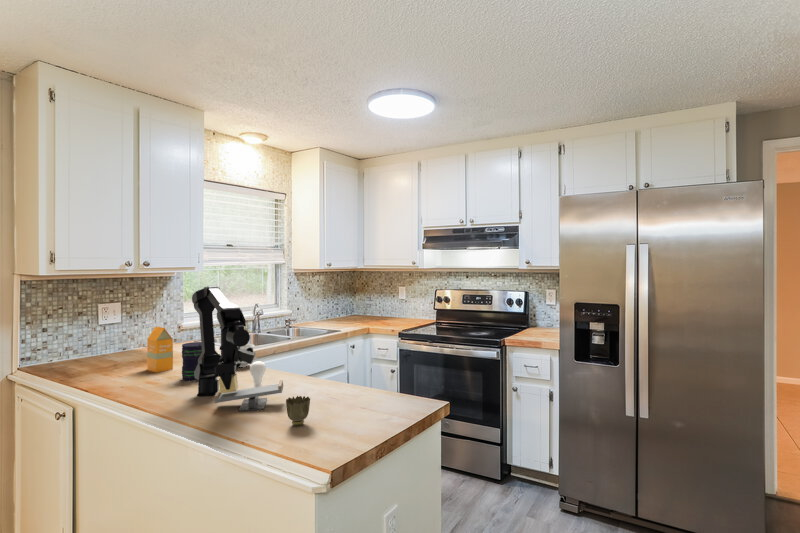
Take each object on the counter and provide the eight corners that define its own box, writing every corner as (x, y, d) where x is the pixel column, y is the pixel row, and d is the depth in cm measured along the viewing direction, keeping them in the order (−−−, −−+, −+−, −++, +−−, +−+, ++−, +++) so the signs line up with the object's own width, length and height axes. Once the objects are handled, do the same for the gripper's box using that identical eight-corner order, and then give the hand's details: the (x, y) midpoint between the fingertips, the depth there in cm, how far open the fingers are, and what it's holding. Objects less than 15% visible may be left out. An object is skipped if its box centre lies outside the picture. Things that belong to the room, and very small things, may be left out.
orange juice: (163, 366, 213) (163, 325, 213) (173, 369, 208) (173, 327, 208) (146, 369, 207) (146, 327, 207) (156, 372, 202) (156, 328, 202)
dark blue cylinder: (176, 380, 189) (176, 345, 189) (194, 374, 198) (194, 341, 198) (193, 382, 185) (193, 346, 185) (211, 376, 194) (211, 343, 194)
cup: (287, 420, 140) (287, 395, 140) (311, 420, 141) (311, 395, 141) (283, 429, 133) (283, 402, 133) (308, 428, 133) (308, 402, 133)
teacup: (226, 363, 219) (226, 343, 219) (257, 363, 221) (257, 343, 221) (218, 369, 207) (219, 348, 207) (251, 369, 209) (251, 347, 209)
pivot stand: (238, 411, 149) (238, 401, 149) (244, 400, 160) (244, 390, 160) (263, 410, 150) (263, 399, 150) (267, 399, 162) (267, 389, 162)
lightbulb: (268, 387, 178) (269, 360, 178) (259, 391, 172) (259, 363, 172) (256, 386, 180) (256, 359, 180) (246, 390, 174) (246, 362, 174)
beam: (215, 403, 149) (214, 396, 149) (219, 396, 157) (219, 389, 157) (281, 392, 153) (281, 385, 153) (283, 386, 161) (282, 380, 161)
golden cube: (220, 393, 151) (218, 379, 151) (223, 389, 156) (221, 375, 156) (235, 391, 152) (234, 377, 152) (238, 387, 157) (236, 373, 156)
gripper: (250, 346, 146) (250, 393, 146) (257, 337, 164) (257, 379, 164) (214, 347, 144) (214, 395, 144) (225, 338, 162) (225, 380, 162)
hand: (229, 387), depth 154 cm, fingers closed on golden cube, 5 cm apart
